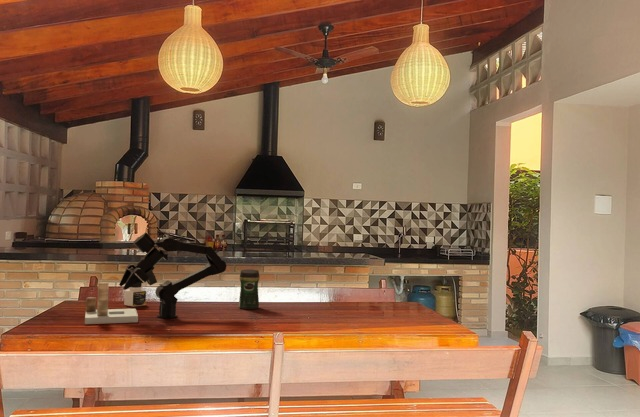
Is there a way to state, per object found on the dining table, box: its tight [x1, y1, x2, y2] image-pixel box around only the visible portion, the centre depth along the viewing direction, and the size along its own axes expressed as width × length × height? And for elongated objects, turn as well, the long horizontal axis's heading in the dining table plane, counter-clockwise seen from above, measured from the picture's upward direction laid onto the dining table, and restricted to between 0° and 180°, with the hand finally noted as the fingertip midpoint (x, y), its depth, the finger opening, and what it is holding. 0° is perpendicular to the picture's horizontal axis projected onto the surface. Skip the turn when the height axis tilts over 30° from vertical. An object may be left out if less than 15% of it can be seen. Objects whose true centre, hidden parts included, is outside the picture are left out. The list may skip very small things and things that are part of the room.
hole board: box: [84, 308, 139, 325], centre depth 233 cm, size 20×17×2 cm
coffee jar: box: [238, 268, 260, 310], centre depth 269 cm, size 10×8×19 cm
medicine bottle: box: [123, 283, 147, 308], centre depth 266 cm, size 7×7×12 cm
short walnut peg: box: [85, 296, 97, 313], centre depth 235 cm, size 4×4×6 cm
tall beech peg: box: [96, 282, 110, 316], centre depth 227 cm, size 4×4×13 cm
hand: (122, 287), depth 231 cm, fingers open, 9 cm apart
